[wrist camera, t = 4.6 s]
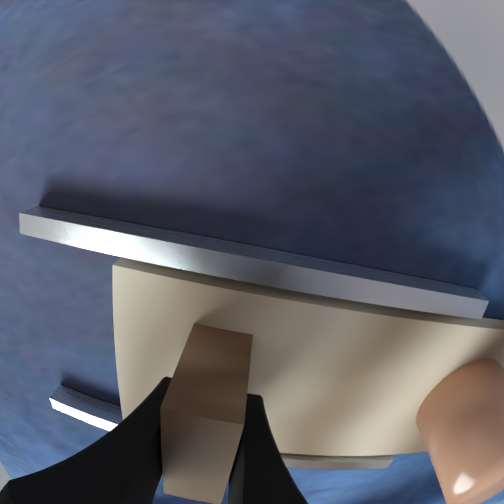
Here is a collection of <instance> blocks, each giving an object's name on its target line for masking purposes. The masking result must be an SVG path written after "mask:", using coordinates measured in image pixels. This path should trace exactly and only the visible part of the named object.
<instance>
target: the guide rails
mask: <svg viewBox="0 0 504 504" xmlns="http://www.w3.org/2000/svg"><path fill="white" fill-rule="evenodd" d="M19 221H20V233H21V234H25V235H29V236H33V237H37V238H41V239H46V240H50V241H54V242H58V243H62V244H67V245H71V246H75V247H80V248H84V249H88V250H93V251H97V252H102V253H106V254H111V255H115V256H120V257H125V258H129V259H134V260H139V261H143V262H148V263H153V264H157V265H162V266H167V267H172V268H177V269H182V270H187V271H192V272H197V273H202V274H207V275H212V276H217V277H222V278H227V279H233V280H238V281H243V282H249V283H254V284H259V285H265V286H270V287H276V288H281V289H287V290H293V291H298V292H304V293H310V294H315V295H321V296H327V297H333V298H339V299H345V300H351V301H358V302H364V303H370V304H376V305H383V306H389V307H396V308H403V309H409V310H416V311H423V312H430V313H437V314H444V315H452V316H459V317H467V318H474V319H482V317H483V314H484V312H485V310H486V307H487V305H488V303H489V301H488V300H487V299H486V298H485V297H484V296H483V295H481V294H480V293H479V292H478V291H477V290H476V289H474V288H470V287H465V286H460V285H455V284H450V283H445V282H440V281H435V280H430V279H424V278H419V277H414V276H409V275H404V274H399V273H394V272H389V271H384V270H379V269H373V268H368V267H363V266H358V265H353V264H348V263H343V262H337V261H332V260H327V259H322V258H316V257H311V256H306V255H301V254H296V253H290V252H285V251H280V250H275V249H269V248H264V247H259V246H253V245H248V244H243V243H237V242H232V241H227V240H221V239H216V238H211V237H205V236H200V235H194V234H189V233H184V232H178V231H173V230H167V229H162V228H157V227H151V226H146V225H140V224H135V223H129V222H124V221H118V220H113V219H107V218H102V217H96V216H90V215H85V214H79V213H74V212H68V211H62V210H57V209H51V208H46V207H40V206H37V207H34V208H31V209H28V210H26V211H23V212H20V213H19ZM50 400H51V403H52V406H53V408H54V409H56V410H59V411H61V412H63V413H65V414H68V415H70V416H72V417H75V418H77V419H80V420H82V421H85V422H87V423H90V424H93V425H95V426H98V427H101V428H103V429H106V430H109V431H111V430H112V429H113V428H114V427H116V426H117V425H118V424H119V423H120V422H121V421H123V417H122V410H121V407H120V406H116V405H113V404H110V403H107V402H105V401H102V400H99V399H96V398H93V397H90V396H88V395H85V394H82V393H80V392H77V391H75V390H72V389H70V388H67V387H65V386H62V385H59V386H58V388H57V389H56V391H55V392H54V393H53V395H52V396H51V397H50ZM280 455H281V457H282V459H283V461H284V463H285V465H286V467H287V468H300V469H325V470H355V469H379V468H387V467H388V466H389V465H390V464H391V463H392V461H393V460H394V459H393V456H392V455H374V456H326V455H305V454H291V453H280Z"/></svg>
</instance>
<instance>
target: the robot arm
mask: <svg viewBox="0 0 504 504" xmlns="http://www.w3.org/2000/svg"><path fill="white" fill-rule="evenodd" d="M171 379H172V378H171V377H167V376H166V377H164V378H162V380H161V381H160V382H159V384H158V385H157V386H156V387H155V388H154V390H153V391H152V392H151V393H150V394H149V395H148V396H147V397H146V398H145V400H144V401H143V402H142V403H141V404H140V405H139V406H138V407H137V408H136V409H135V410H133V411H132V412H131V413H130V414H129V415H128V416H127V417H126V418H125V419H124V420H123V421H121V422H120V423H119V424H118V425H117V426H116V427H114V428H113V429H112V430H111V431H109V432H108V433H107V434H106V435H104V436H103V437H101V438H100V439H99V440H97V441H96V442H94V443H93V444H91V445H90V446H88V447H87V448H85V449H83V450H82V451H80V452H78V453H77V454H75V455H73V456H71V457H69V458H67V459H66V460H64V461H61V462H59V463H57V464H55V465H52V466H50V467H48V468H46V469H43V470H41V471H38V472H35V473H32V474H29V475H26V476H23V477H19V478H16V479H12V480H10V481H8V483H7V484H6V485H5V486H4V487H3V489H2V490H1V491H0V504H152V501H153V498H154V495H155V492H156V489H157V486H158V484H159V481H160V478H161V476H162V453H161V415H160V407H161V405H162V402H163V400H164V397H165V395H166V392H167V389H168V387H169V384H170V382H171ZM228 504H308V503H307V501H306V500H305V498H304V497H303V495H302V494H301V492H300V491H299V489H298V487H297V486H296V484H295V482H294V481H293V479H292V477H291V475H290V473H289V471H288V469H287V467H286V465H285V463H284V461H283V459H282V457H281V455H280V452H279V450H278V447H277V445H276V442H275V440H274V437H273V434H272V432H271V429H270V425H269V422H268V419H267V415H266V411H265V407H264V402H263V398H262V396H261V395H256V394H250V393H247V401H246V411H245V421H244V427H243V431H242V434H241V438H240V441H239V445H238V448H237V452H236V455H235V459H234V462H233V466H232V469H231V473H230V476H229V496H228Z"/></svg>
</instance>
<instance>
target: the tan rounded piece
mask: <svg viewBox="0 0 504 504" xmlns="http://www.w3.org/2000/svg"><path fill="white" fill-rule="evenodd" d="M416 425H417V428H418V430H419V432H420V435H421V437H422V440H423V442H424V445H425V447H426V449H427V452H428V455H429V457H430V460H431V462H432V465H433V467H434V470H435V473H436V475H437V478H438V481H439V483H440V486H441V489H442V492H443V494H444V497H445V500H446V503H447V504H480V503H482V502H484V501H486V500H488V499H489V498H491V497H493V496H495V495H496V494H498V493H499V492H501V491H503V490H504V369H503V368H502V367H501V365H500V364H499V363H498V362H497V361H495V360H493V359H479V360H475V361H472V362H470V363H468V364H465V365H463V366H462V367H460V368H458V369H456V370H455V371H453V372H452V373H451V374H449V375H448V376H446V377H445V378H444V379H443V380H442V381H440V382H439V383H438V384H437V385H436V386H435V387H434V388H433V389H432V390H431V391H430V393H429V394H428V395H427V396H426V398H425V399H424V401H423V402H422V404H421V406H420V407H419V410H418V412H417V416H416Z"/></svg>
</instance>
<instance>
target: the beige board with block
mask: <svg viewBox="0 0 504 504" xmlns="http://www.w3.org/2000/svg"><path fill="white" fill-rule="evenodd" d="M113 319H114V339H115V354H116V366H117V377H118V386H119V395H120V403H121V410H122V417H123V420H124V419H125V418H126V417H127V416H128V415H129V414H130V413H131V412H132V411H133V410H135V409H136V408H137V407H138V406H139V405H140V404H141V403H142V402H143V401H144V400H145V398H146V397H147V396H148V395H149V394H150V393H151V392H152V391H153V390H154V388H155V387H156V386H157V385H158V384H159V382H160V381H161V380H162V378H164V377H166V376H167V377H171V378H172V379H171V382H170V384H169V387H168V389H167V392H166V395H165V397H164V400H163V402H162V405H161V407H160V415H161V453H162V473H163V489H164V493H165V494H169V495H174V496H178V497H182V498H187V499H191V500H196V501H202V502H207V503H213V504H221V503H222V499H223V496H224V493H225V489H226V486H227V483H228V479H229V476H230V473H231V469H232V466H233V462H234V459H235V455H236V452H237V448H238V445H239V441H240V438H241V434H242V431H243V427H244V421H245V411H246V401H247V393H250V394H256V395H261V396H262V398H263V402H264V407H265V411H266V415H267V419H268V422H269V425H270V429H271V432H272V434H273V437H274V440H275V442H276V445H277V447H278V450H279V452H280V453H291V454H305V455H326V456H374V455H394V454H408V453H419V452H427V449H426V447H425V445H424V442H423V440H422V437H421V435H420V432H419V430H418V428H417V425H416V416H417V412H418V410H419V407H420V406H421V404H422V402H423V401H424V399H425V398H426V396H427V395H428V394H429V393H430V391H431V390H432V389H433V388H434V387H435V386H436V385H437V384H438V383H439V382H440V381H442V380H443V379H444V378H445V377H446V376H448V375H449V374H451V373H452V372H453V371H455V370H456V369H458V368H460V367H462V366H463V365H465V364H468V363H470V362H472V361H475V360H479V359H493V360H495V361H497V362H498V363H499V364H500V365H501V367H502V368H503V369H504V320H498V319H490V318H482V319H474V318H467V317H459V316H452V315H444V314H437V313H430V312H423V311H416V310H409V309H403V308H396V307H389V306H383V305H376V304H370V303H364V302H358V301H351V300H345V299H339V298H333V297H327V296H321V295H315V294H310V293H304V292H298V291H293V290H287V289H281V288H276V287H270V286H265V285H259V284H254V283H249V282H243V281H238V280H233V279H227V278H222V277H217V276H212V275H207V274H202V273H197V272H192V271H187V270H182V269H177V268H172V267H167V266H162V265H157V264H153V263H148V262H143V261H139V260H134V259H129V258H125V257H122V258H120V259H119V260H118V261H117V262H116V263H114V264H113Z"/></svg>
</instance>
